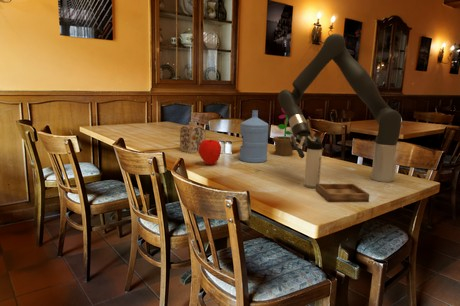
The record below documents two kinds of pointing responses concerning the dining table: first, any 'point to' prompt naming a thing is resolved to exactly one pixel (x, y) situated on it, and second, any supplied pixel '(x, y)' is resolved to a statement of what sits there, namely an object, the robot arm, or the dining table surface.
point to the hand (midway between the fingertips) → (311, 156)
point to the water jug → (254, 139)
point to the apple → (210, 151)
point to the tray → (342, 193)
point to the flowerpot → (283, 140)
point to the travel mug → (313, 164)
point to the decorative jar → (191, 137)
